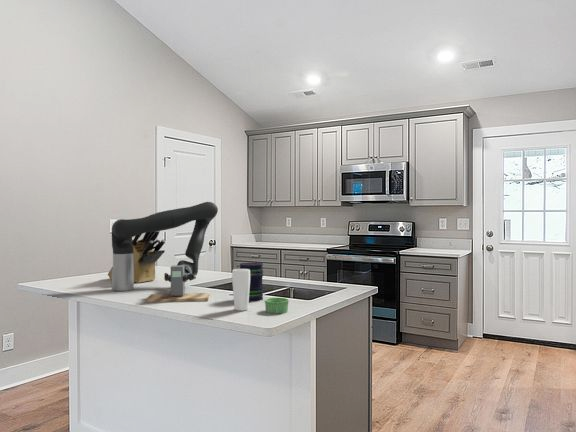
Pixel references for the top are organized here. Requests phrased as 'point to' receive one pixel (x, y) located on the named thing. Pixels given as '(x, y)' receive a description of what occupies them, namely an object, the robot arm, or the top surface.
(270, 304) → the ramekin
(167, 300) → the board
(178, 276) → the tall grey rectangular prism
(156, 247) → the knife block
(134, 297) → the top surface
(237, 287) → the drinking glass
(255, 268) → the storage jar
